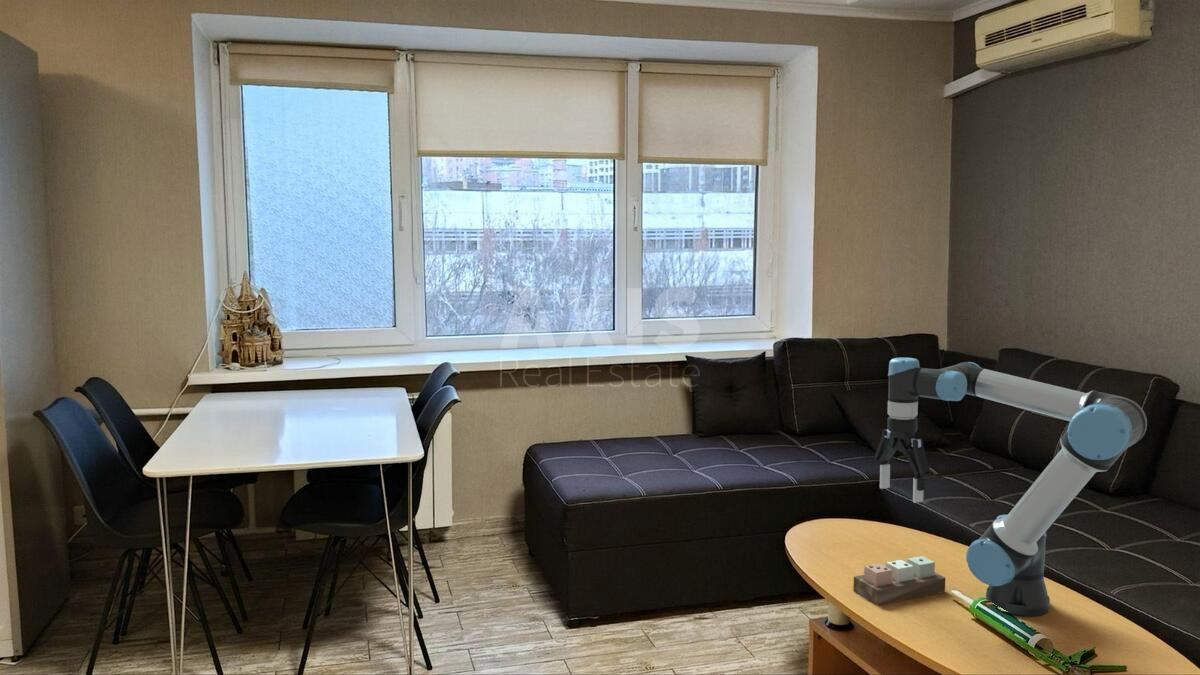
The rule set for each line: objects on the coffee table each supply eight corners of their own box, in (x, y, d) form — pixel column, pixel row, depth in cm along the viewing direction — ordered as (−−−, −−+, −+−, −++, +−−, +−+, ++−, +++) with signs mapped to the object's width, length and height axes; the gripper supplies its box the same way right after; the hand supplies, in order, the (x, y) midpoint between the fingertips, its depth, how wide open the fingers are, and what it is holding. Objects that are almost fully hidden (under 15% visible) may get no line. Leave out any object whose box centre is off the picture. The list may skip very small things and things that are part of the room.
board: (944, 591, 244) (945, 577, 243) (876, 605, 236) (877, 590, 236) (919, 578, 253) (920, 564, 252) (853, 590, 245) (853, 576, 245)
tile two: (913, 584, 243) (913, 565, 242) (897, 586, 241) (898, 568, 240) (900, 577, 247) (901, 558, 247) (885, 580, 246) (886, 561, 245)
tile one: (934, 580, 245) (934, 561, 244) (919, 582, 243) (919, 564, 243) (921, 573, 250) (922, 555, 249) (906, 576, 248) (907, 557, 247)
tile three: (891, 588, 240) (892, 569, 240) (875, 591, 239) (876, 572, 238) (879, 581, 245) (879, 562, 244) (864, 584, 243) (864, 565, 243)
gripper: (947, 424, 229) (944, 506, 232) (884, 406, 252) (883, 480, 255) (922, 427, 226) (920, 509, 229) (861, 409, 250) (860, 484, 252)
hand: (900, 494), depth 242 cm, fingers open, 13 cm apart
